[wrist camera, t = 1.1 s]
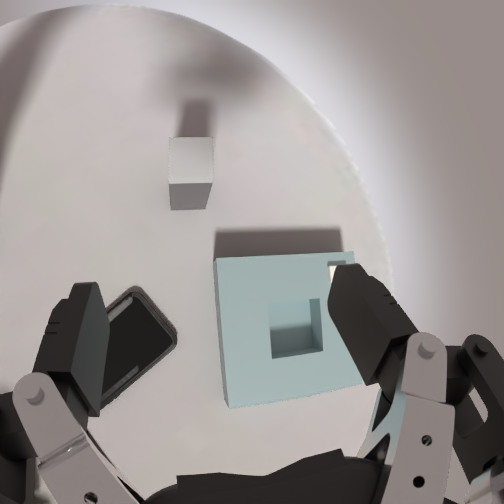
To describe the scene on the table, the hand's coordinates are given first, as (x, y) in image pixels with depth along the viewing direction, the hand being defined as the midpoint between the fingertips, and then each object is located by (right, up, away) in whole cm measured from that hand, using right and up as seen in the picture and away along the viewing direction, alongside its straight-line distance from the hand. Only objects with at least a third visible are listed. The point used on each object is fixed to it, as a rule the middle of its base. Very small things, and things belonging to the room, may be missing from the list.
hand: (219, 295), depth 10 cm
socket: (+5, -7, +26) cm, 28 cm away
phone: (-15, -10, +22) cm, 28 cm away
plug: (-7, +8, +26) cm, 28 cm away
